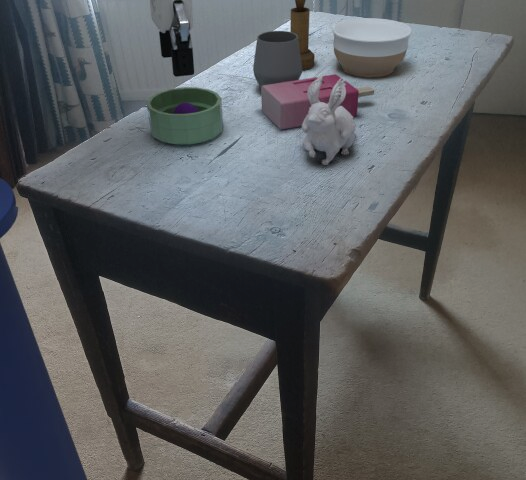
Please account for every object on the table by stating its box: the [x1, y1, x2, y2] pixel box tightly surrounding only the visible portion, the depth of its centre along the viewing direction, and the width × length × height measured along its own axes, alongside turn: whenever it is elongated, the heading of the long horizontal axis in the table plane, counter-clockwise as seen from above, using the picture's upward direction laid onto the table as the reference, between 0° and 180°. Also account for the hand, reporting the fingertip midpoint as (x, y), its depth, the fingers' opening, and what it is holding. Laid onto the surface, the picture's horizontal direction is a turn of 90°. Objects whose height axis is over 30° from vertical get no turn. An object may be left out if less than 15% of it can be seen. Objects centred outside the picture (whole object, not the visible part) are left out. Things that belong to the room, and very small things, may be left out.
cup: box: [252, 30, 303, 89], centre depth 112 cm, size 10×9×10 cm
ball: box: [173, 103, 198, 114], centre depth 99 cm, size 4×4×4 cm
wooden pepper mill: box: [289, 0, 315, 71], centre depth 121 cm, size 7×6×18 cm
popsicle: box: [260, 73, 375, 131], centre depth 105 cm, size 9×5×20 cm
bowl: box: [331, 17, 413, 78], centre depth 122 cm, size 16×16×8 cm
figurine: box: [301, 74, 357, 166], centre depth 91 cm, size 8×15×13 cm, turn 157°
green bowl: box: [146, 86, 224, 146], centre depth 99 cm, size 12×12×6 cm
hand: (177, 65), depth 94 cm, fingers open, 9 cm apart
